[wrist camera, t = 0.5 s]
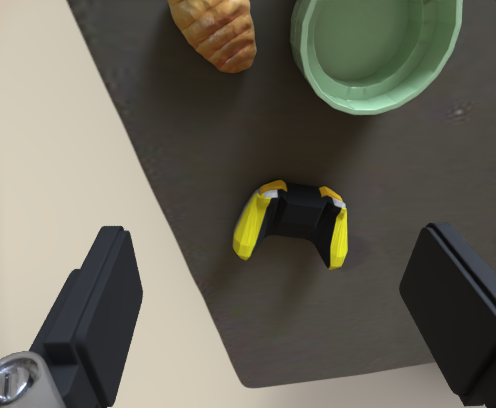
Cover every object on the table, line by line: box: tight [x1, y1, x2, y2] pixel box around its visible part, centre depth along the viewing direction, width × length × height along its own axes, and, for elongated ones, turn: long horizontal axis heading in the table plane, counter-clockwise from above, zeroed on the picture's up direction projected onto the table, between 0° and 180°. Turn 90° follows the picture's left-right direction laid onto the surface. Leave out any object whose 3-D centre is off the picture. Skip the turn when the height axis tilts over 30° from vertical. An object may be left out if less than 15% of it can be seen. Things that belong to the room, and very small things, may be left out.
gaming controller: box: [232, 180, 348, 270], centre depth 43 cm, size 15×6×10 cm
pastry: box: [167, 0, 257, 73], centre depth 31 cm, size 9×7×4 cm
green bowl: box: [290, 0, 462, 115], centre depth 31 cm, size 13×13×6 cm
